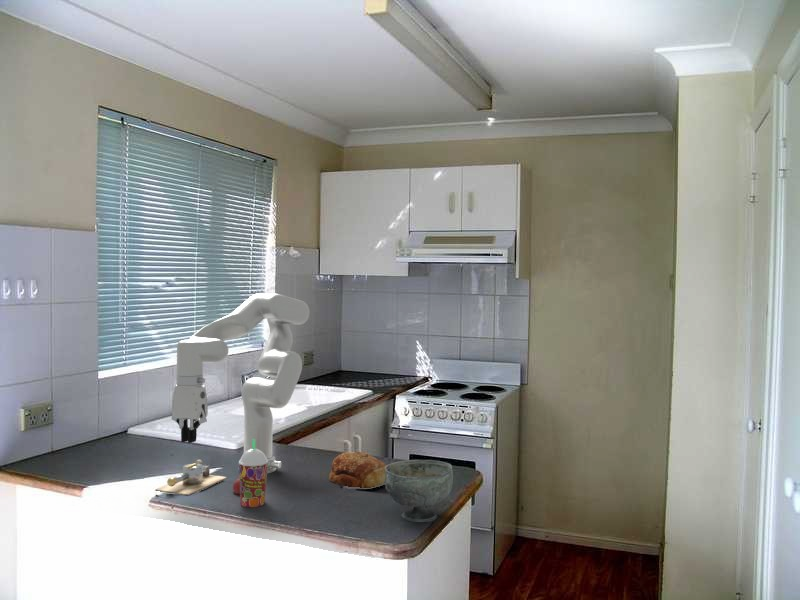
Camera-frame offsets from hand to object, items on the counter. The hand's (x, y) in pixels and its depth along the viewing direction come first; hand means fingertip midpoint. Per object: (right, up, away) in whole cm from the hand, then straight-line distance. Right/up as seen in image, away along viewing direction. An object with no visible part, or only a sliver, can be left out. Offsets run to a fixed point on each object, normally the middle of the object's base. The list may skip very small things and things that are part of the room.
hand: (188, 441), depth 205 cm
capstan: (-2, -15, +6) cm, 16 cm away
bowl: (+69, -19, -15) cm, 73 cm away
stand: (-2, -17, +9) cm, 19 cm away
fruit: (+16, -18, +2) cm, 24 cm away
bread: (+52, -18, +19) cm, 58 cm away
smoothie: (+21, -18, -8) cm, 29 cm away
